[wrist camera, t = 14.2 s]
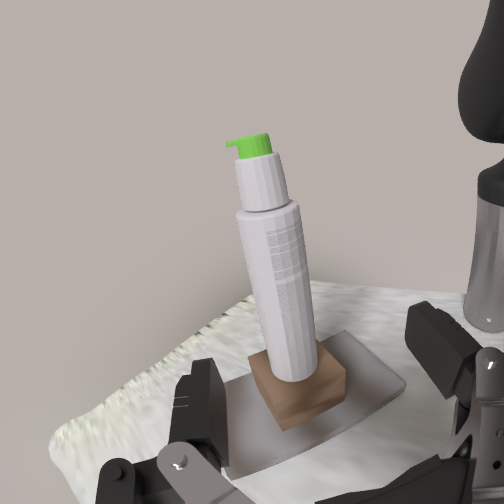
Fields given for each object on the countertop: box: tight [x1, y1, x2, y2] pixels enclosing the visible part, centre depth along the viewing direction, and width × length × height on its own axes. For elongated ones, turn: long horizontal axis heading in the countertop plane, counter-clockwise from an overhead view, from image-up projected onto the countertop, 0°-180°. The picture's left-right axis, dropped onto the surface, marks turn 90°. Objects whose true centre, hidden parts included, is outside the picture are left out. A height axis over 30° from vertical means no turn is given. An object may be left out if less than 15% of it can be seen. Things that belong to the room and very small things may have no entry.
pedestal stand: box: [223, 330, 406, 481], centre depth 26 cm, size 20×12×6 cm, turn 111°
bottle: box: [226, 133, 318, 382], centre depth 21 cm, size 4×4×20 cm
